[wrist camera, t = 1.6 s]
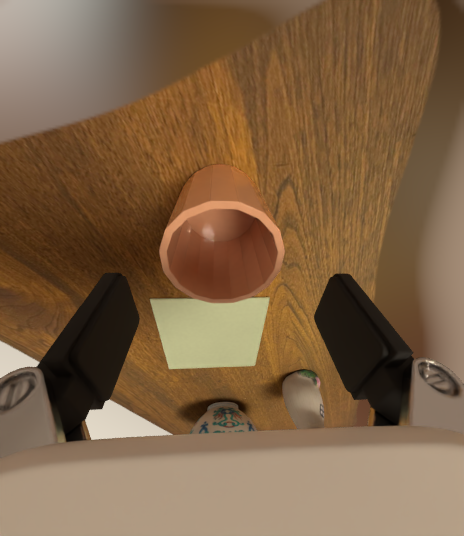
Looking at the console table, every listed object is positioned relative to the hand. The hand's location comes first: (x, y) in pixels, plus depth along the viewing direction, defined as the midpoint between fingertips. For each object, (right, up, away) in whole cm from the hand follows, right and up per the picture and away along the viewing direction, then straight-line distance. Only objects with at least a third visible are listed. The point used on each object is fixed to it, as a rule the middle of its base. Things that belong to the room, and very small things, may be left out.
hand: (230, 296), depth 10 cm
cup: (-1, +7, +8) cm, 10 cm away
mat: (-3, -9, +19) cm, 21 cm away
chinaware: (-2, -29, +36) cm, 46 cm away
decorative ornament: (+13, -19, +29) cm, 37 cm away
